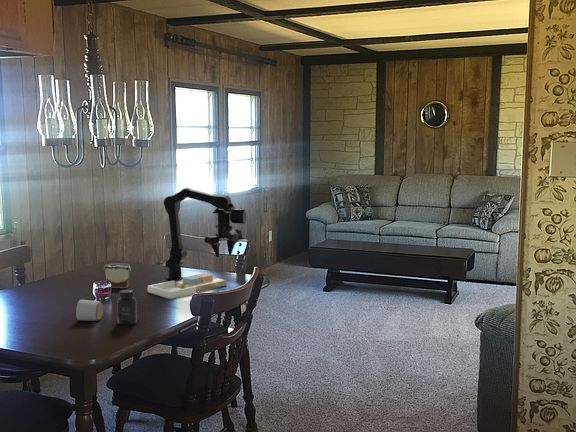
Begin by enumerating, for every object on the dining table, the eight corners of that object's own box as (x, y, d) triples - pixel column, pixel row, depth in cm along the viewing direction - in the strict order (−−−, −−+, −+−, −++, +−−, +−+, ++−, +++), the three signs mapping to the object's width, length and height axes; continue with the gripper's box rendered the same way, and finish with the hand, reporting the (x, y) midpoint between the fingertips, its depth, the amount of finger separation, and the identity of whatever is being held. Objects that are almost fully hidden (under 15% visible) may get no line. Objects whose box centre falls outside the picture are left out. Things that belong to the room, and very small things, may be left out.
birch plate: (175, 287, 289) (175, 281, 289) (206, 280, 302) (206, 275, 302) (195, 292, 280) (194, 287, 280) (226, 285, 293) (226, 280, 293)
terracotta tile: (194, 280, 292) (194, 275, 291) (204, 278, 296) (204, 273, 296) (202, 282, 288) (202, 277, 287) (212, 280, 292) (212, 275, 292)
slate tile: (182, 282, 287) (182, 277, 287) (193, 280, 291) (193, 275, 291) (191, 285, 283) (190, 279, 283) (201, 282, 287) (201, 277, 287)
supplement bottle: (140, 321, 237) (140, 290, 236) (129, 326, 231) (128, 294, 230) (125, 319, 240) (125, 288, 239) (113, 324, 234) (112, 292, 233)
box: (147, 292, 280) (147, 285, 279) (173, 287, 290) (173, 280, 289) (169, 299, 269) (169, 292, 269) (195, 293, 279) (195, 286, 279)
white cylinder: (98, 323, 235) (97, 302, 235) (75, 322, 236) (75, 302, 235) (106, 315, 246) (106, 295, 245) (85, 315, 246) (84, 295, 245)
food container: (135, 284, 294) (134, 263, 292) (130, 288, 288) (130, 266, 286) (109, 283, 295) (108, 262, 294) (104, 287, 289) (103, 265, 288)
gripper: (219, 227, 285) (219, 261, 287) (250, 222, 299) (250, 255, 301) (203, 224, 293) (204, 258, 295) (234, 220, 306) (234, 252, 308)
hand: (223, 256), depth 299 cm, fingers open, 7 cm apart
